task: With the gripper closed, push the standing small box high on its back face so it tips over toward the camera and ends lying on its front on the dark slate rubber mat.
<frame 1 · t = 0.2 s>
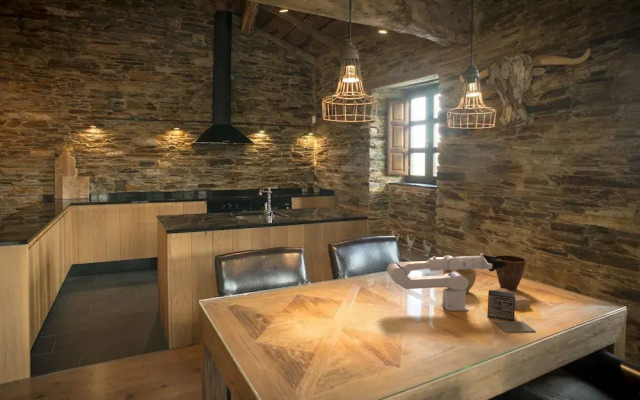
hand: (500, 261, 187), 21 cm above the table, tool horizontal, fingers open, 7 cm apart
planter bowl: (458, 291, 211), on the table
brick: (510, 303, 195), on the table
small box: (500, 317, 178), on the table
plant pot: (508, 288, 216), on the table
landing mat: (514, 327, 166), on the table
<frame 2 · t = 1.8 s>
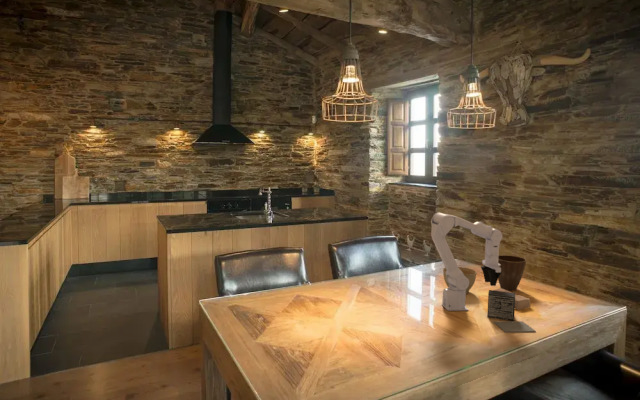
hand: (490, 283, 189), 10 cm above the table, tool pointing down, fingers open, 5 cm apart
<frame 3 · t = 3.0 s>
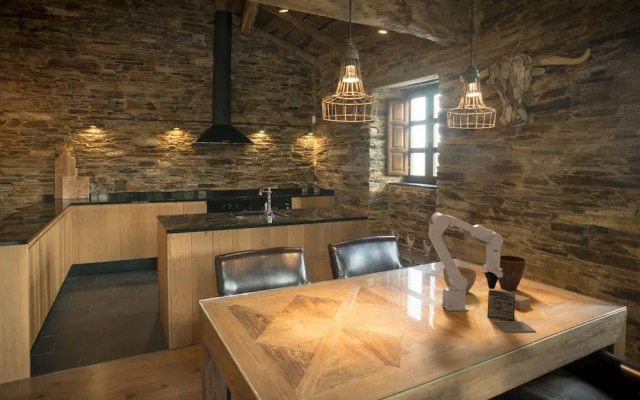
hand: (491, 288, 186), 9 cm above the table, tool pointing down, fingers closed
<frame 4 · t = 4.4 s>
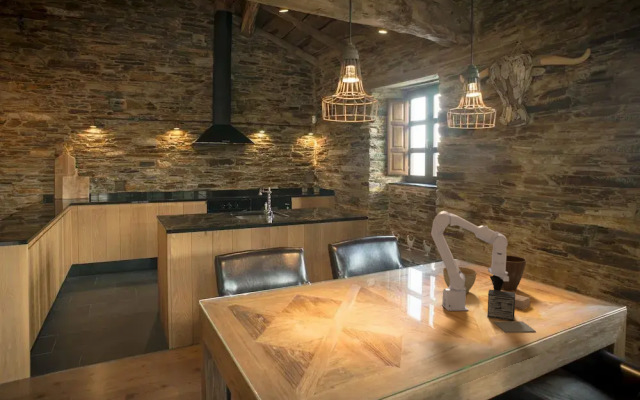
hand: (497, 292, 181), 9 cm above the table, tool pointing down, fingers closed
small box: (500, 316, 178), on the table, touching gripper
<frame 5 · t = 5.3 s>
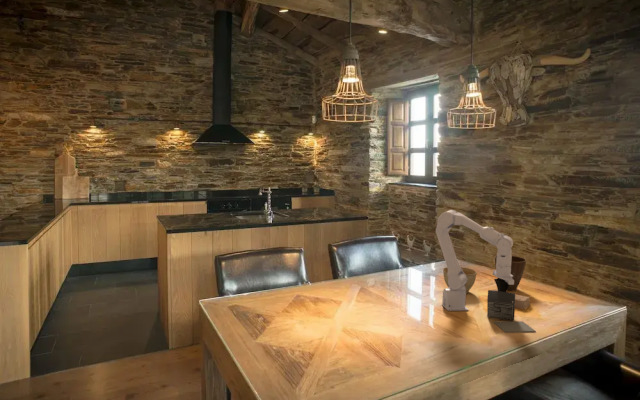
hand: (501, 296, 176), 9 cm above the table, tool pointing down, fingers closed
small box: (500, 313, 177), point 1 cm above the table
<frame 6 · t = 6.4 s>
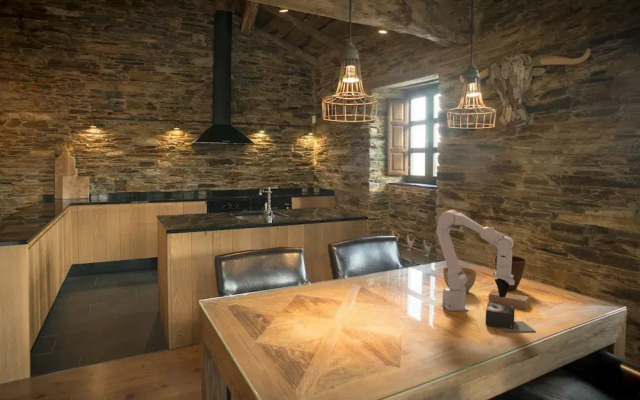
hand: (502, 296, 176), 9 cm above the table, tool pointing down, fingers closed
small box: (500, 310, 175), point 4 cm above the table, touching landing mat
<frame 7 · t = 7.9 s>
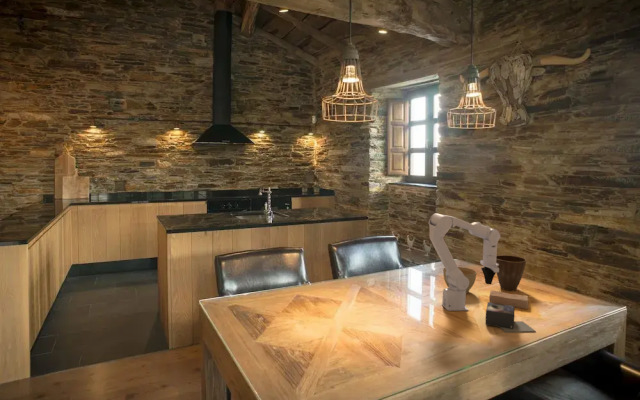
hand: (488, 283, 189), 10 cm above the table, tool pointing down, fingers closed
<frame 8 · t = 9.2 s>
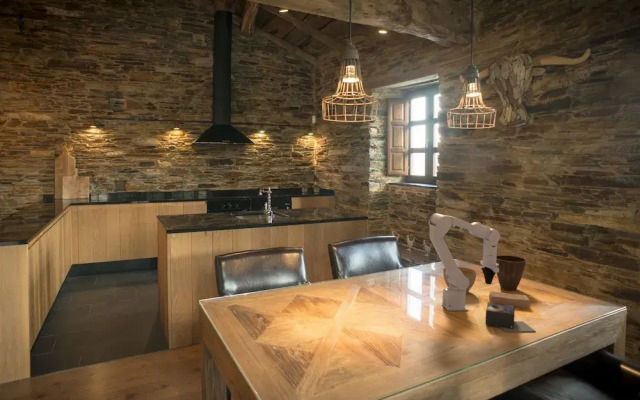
hand: (488, 283, 189), 10 cm above the table, tool pointing down, fingers closed
at the end: small box tilted 91°; small box inside the target area (2.1 cm from its centre), point 3.7 cm above the table; small box touching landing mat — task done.
